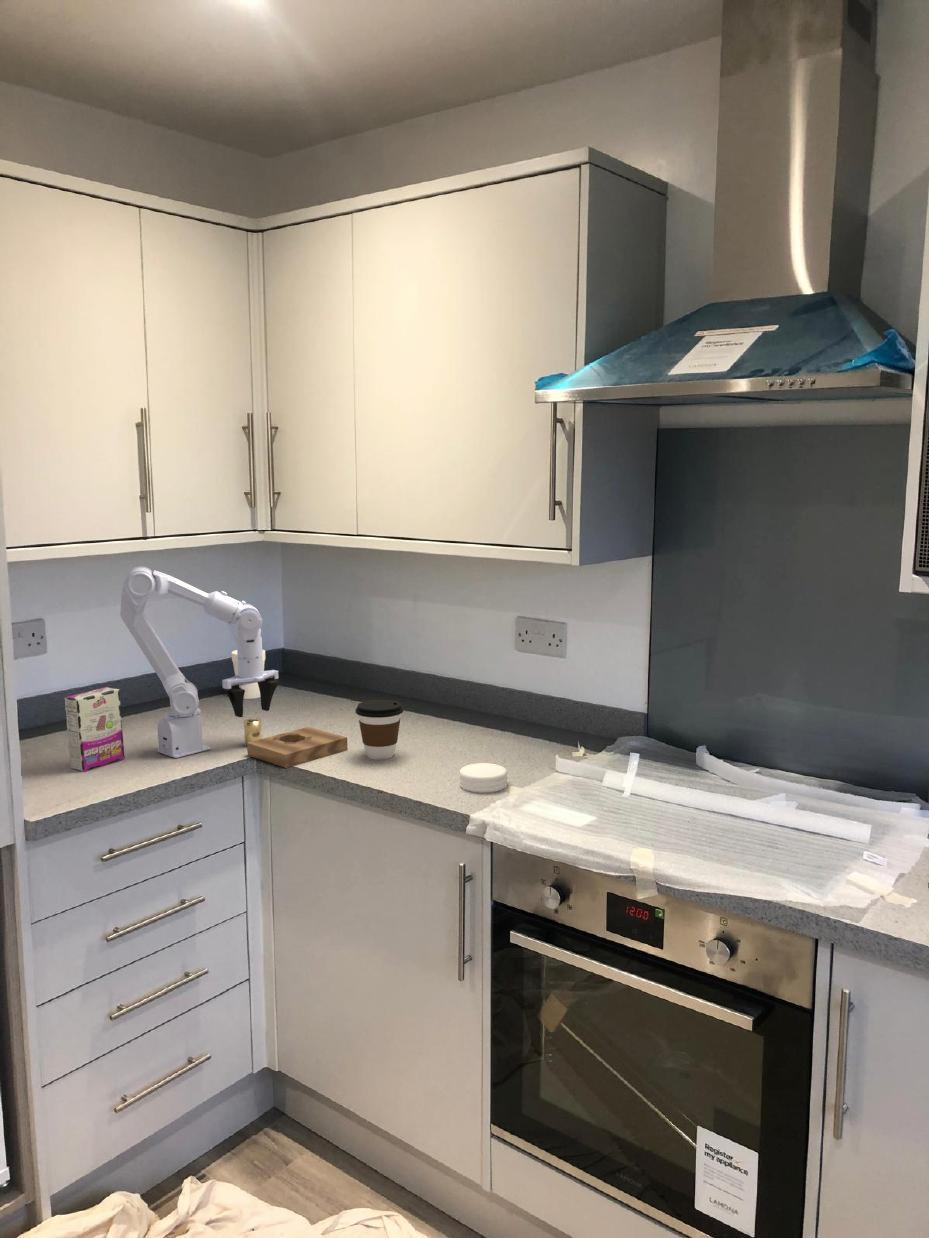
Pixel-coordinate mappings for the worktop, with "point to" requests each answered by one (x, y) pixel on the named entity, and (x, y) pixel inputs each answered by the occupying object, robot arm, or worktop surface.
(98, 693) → the candy bar box
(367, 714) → the coffee cup
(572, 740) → the worktop surface
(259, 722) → the bushing
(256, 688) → the foam cup
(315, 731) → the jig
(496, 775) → the white round disc
